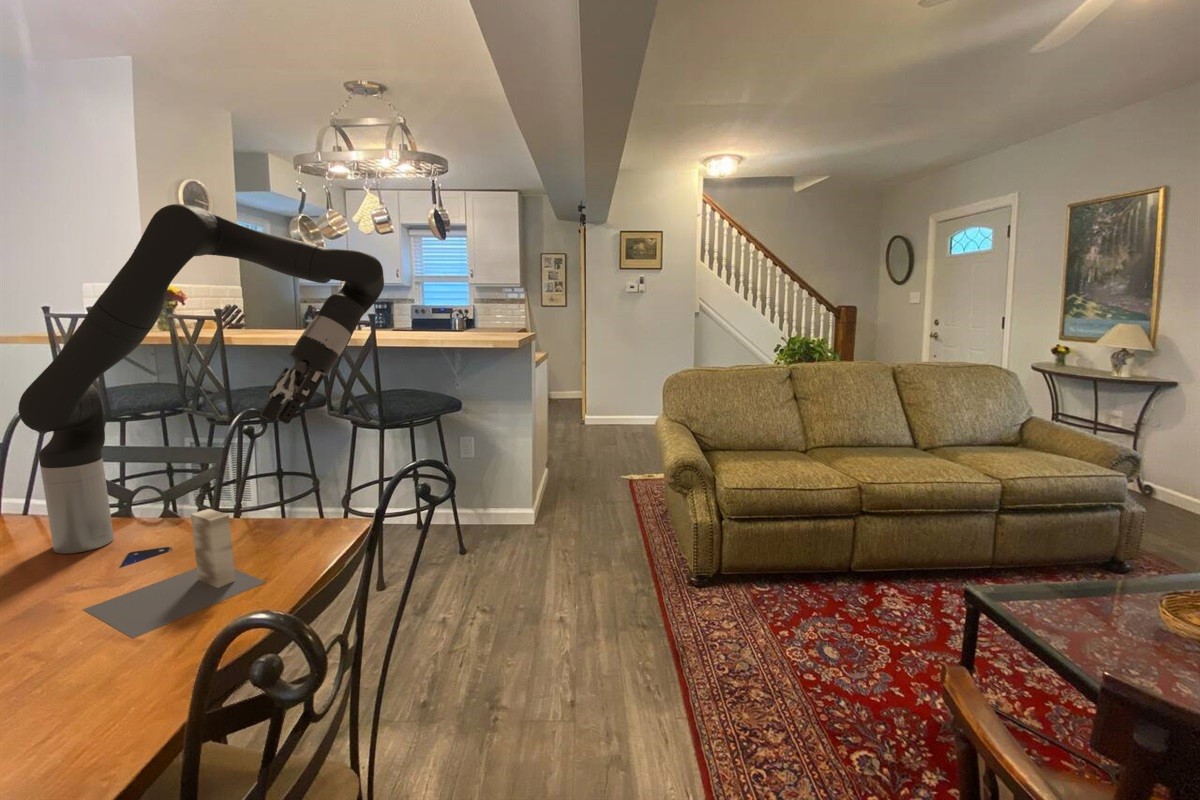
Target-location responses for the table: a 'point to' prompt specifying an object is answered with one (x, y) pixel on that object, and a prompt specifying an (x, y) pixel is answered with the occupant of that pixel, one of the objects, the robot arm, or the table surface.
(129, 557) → the smartphone
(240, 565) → the table surface
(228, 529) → the beige rectangular block
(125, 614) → the rubber mat
